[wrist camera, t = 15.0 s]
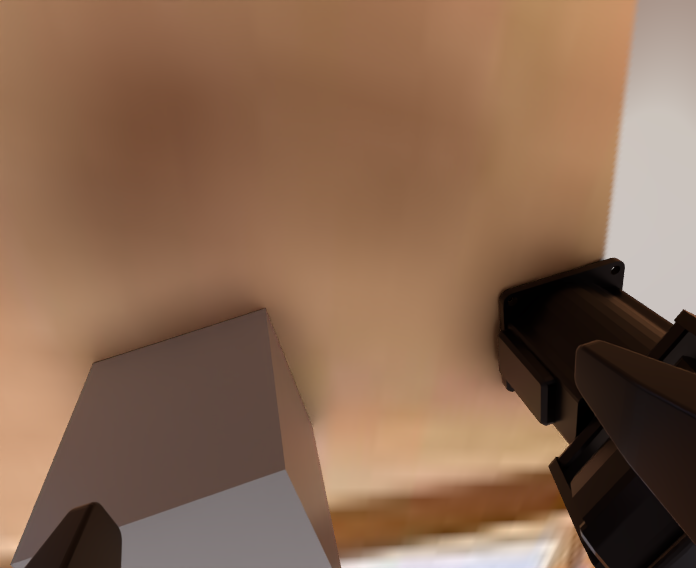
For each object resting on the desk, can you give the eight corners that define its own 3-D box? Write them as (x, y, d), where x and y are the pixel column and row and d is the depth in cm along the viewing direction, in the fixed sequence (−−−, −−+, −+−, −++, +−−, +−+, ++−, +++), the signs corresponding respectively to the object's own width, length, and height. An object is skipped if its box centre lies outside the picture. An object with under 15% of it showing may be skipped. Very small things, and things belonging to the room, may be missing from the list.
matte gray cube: (265, 308, 21) (285, 469, 13) (312, 426, 25) (348, 602, 17) (92, 363, 20) (10, 564, 13) (168, 475, 24) (140, 679, 17)
